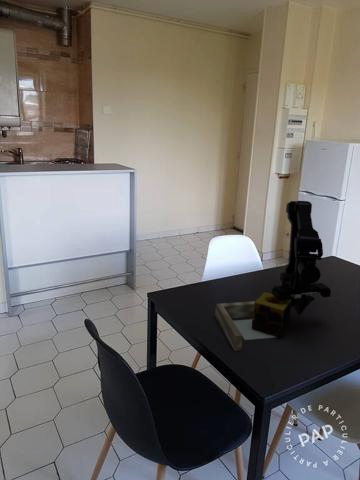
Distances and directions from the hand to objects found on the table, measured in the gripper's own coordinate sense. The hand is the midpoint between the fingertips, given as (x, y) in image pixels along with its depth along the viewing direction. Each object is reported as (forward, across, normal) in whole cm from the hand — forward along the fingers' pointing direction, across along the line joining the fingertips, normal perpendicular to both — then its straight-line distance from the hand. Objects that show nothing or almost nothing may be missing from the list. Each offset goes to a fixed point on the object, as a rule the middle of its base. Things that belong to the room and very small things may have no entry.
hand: (298, 314), depth 125 cm
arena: (+4, +16, 0) cm, 17 cm away
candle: (+4, +10, 0) cm, 11 cm away
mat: (+4, +15, 0) cm, 16 cm away
